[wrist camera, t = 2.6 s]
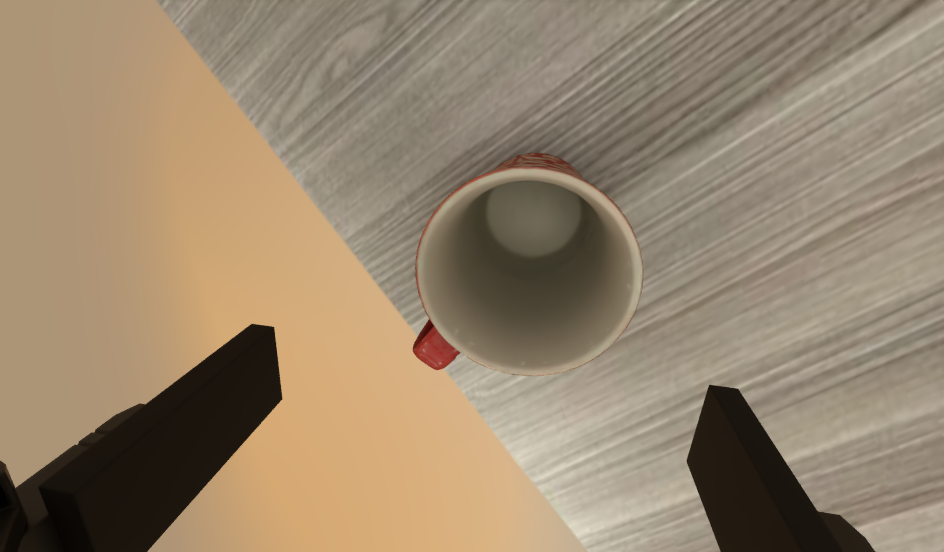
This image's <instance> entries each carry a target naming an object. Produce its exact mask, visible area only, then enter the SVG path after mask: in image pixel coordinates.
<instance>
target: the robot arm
mask: <svg viewBox="0 0 944 552" xmlns="http://www.w3.org/2000/svg"><path fill="white" fill-rule="evenodd" d="M281 400H282V392H281V384H280V375H279V366H278V357H277V348H276V341H275V331H274V327H270V326H264V325H256V324H251V325H250V326H248V327H247V328H246V329H244V330H243V331H242V332H240V333H239V334H238V335H236V336H235V337H234V338H232V339H231V340H230V341H229V342H227V343H226V344H225V345H223V346H222V347H221V348H219V349H218V350H217V351H215V352H214V353H213V354H211V355H210V356H209V357H207V358H206V359H205V360H203V361H202V362H201V363H200V364H198V365H197V366H196V367H194V368H193V369H192V370H190V371H189V372H188V373H186V374H185V375H184V376H182V377H181V378H180V379H178V380H177V381H176V382H174V383H173V384H172V385H171V386H169V387H168V388H167V389H165V390H164V391H163V392H161V393H160V394H159V395H157V396H156V397H155V398H153V399H152V400H151V401H149V402H148V403H147V404H138V405H136V406H133V407H131V408H129V409H127V410H125V411H123V412H121V413H119V414H116V415H115V416H113V417H112V418H111V419H109V420H108V421H106V422H105V423H104V424H102V425H101V426H100V427H98V428H97V429H96V430H95V432H94V433H90V434H89V435H87V436H86V437H85V438H83V439H82V440H80V441H79V444H78V445H74V446H72V447H71V448H70V449H68V450H67V451H65V452H64V453H63V454H61V455H60V456H59V457H57V458H56V459H55V460H54V461H52V462H51V463H49V464H48V465H46V466H45V467H44V468H42V469H41V470H40V471H38V472H37V473H35V474H34V475H33V476H31V477H30V478H29V479H27V480H26V481H24V482H23V483H22V484H20V485H19V486H18V487H16V488H15V486H14V484H13V481H12V479H11V477H10V474H9V472H8V469H7V467H6V464H4V463H3V462H1V461H0V552H147V551H148V550H149V549H150V548H151V547H152V545H153V544H154V543H155V542H156V541H157V540H158V539H159V538H160V536H161V535H162V534H163V533H164V532H165V531H166V530H167V528H168V527H169V526H170V525H171V524H172V523H173V522H174V521H175V519H176V518H177V517H178V516H179V515H180V514H181V513H182V511H183V510H184V509H185V508H186V507H187V506H188V505H189V504H190V503H191V501H192V500H193V499H194V498H195V497H196V496H197V495H198V494H199V492H200V491H201V490H202V489H203V488H204V487H205V486H206V484H207V483H208V482H209V481H210V480H211V479H212V478H213V477H214V475H215V474H216V473H217V472H218V471H219V470H220V469H221V468H222V466H223V465H224V464H225V463H226V462H227V461H228V460H229V458H230V457H231V456H232V455H233V454H234V453H235V452H236V451H237V450H238V448H239V447H240V446H241V445H242V444H243V443H244V442H245V441H246V439H247V438H248V437H249V436H250V435H251V433H252V432H253V431H254V430H255V429H256V428H257V427H258V426H259V425H260V424H261V422H262V421H263V420H264V419H265V418H266V417H267V416H268V415H269V413H270V412H271V411H272V410H273V409H274V408H275V407H276V406H277V404H278V403H279V402H280V401H281ZM687 464H688V466H689V469H690V472H691V474H692V477H693V480H694V482H695V485H696V487H697V490H698V493H699V495H700V498H701V501H702V503H703V506H704V509H705V511H706V514H707V517H708V519H709V522H710V524H711V527H712V530H713V532H714V535H715V538H716V540H717V543H718V546H719V548H720V551H721V552H875V551H874V549H873V548H872V547H871V545H870V544H869V542H868V541H867V540H866V538H865V537H864V536H863V535H861V534H860V533H859V532H858V531H857V530H856V529H855V528H854V527H852V526H851V525H850V524H849V523H848V522H847V521H846V520H845V519H843V518H842V517H841V516H840V515H836V514H830V513H824V512H818V511H817V510H816V508H815V507H814V505H813V504H812V502H811V501H810V499H809V497H808V496H807V494H806V493H805V491H804V490H803V488H802V487H801V485H800V484H799V482H798V480H797V479H796V477H795V476H794V474H793V473H792V471H791V470H790V468H789V467H788V465H787V464H786V462H785V460H784V459H783V457H782V456H781V454H780V453H779V451H778V450H777V448H776V447H775V445H774V444H773V442H772V440H771V439H770V437H769V436H768V434H767V433H766V431H765V430H764V428H763V427H762V425H761V423H760V422H759V420H758V419H757V417H756V416H755V414H754V413H753V411H752V410H751V408H750V407H749V405H748V403H747V402H746V400H745V399H744V397H743V396H742V394H741V393H740V391H739V390H738V389H736V388H729V387H721V386H714V385H709V387H708V390H707V394H706V397H705V401H704V404H703V407H702V411H701V414H700V417H699V421H698V424H697V427H696V431H695V434H694V438H693V441H692V444H691V448H690V451H689V454H688V458H687Z"/></svg>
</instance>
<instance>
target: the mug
mask: <svg viewBox="0 0 944 552" xmlns="http://www.w3.org/2000/svg"><path fill="white" fill-rule="evenodd" d="M415 269H416V281H417V288H418V293H419V296H420V299H421V302H422V305H423V307H424V309H425V312H426V313H427V315H428V317H429V320H428V322H427V323H426V325H425V326H424V328H423V329H422V331H421V332H420V334H419V336H418V337H417V339H416V341H415V343H414V346H413V352H414V354H415V355H416V357H417V358H418V359H420V360H421V361H422V362H424V363H425V364H427V365H428V366H430V367H431V368H433V369H435V370H440V369H443V368H445V367H446V366H447V365H449V364H450V363H451V362H452V361H453V360H454V359H455V358H456V356H457V355H458V354H459V353H462V354H463V355H465V356H466V357H468V358H469V359H471V360H473V361H475V362H477V363H479V364H481V365H483V366H485V367H488V368H490V369H493V370H497V371H500V372H503V373H508V374H512V375H522V376H543V375H551V374H557V373H561V372H565V371H568V370H571V369H574V368H576V367H579V366H581V365H583V364H585V363H587V362H589V361H591V360H593V359H595V358H596V357H598V356H599V355H600V354H602V353H603V352H604V351H605V350H607V349H608V348H609V347H610V346H611V345H612V344H613V343H614V342H615V341H616V340H617V339H618V338H619V337H620V336H621V334H622V333H623V332H624V330H625V329H626V327H627V326H628V324H629V323H630V321H631V319H632V317H633V315H634V313H635V311H636V309H637V306H638V303H639V299H640V296H641V293H642V287H643V262H642V256H641V251H640V248H639V244H638V241H637V239H636V236H635V233H634V231H633V229H632V227H631V225H630V224H629V222H628V220H627V219H626V217H625V216H624V214H623V213H622V212H621V210H620V209H619V207H618V206H617V205H616V204H615V203H614V202H613V201H612V200H611V199H610V198H609V197H608V196H606V195H605V194H604V193H603V192H601V191H600V190H599V189H597V188H596V187H595V186H593V185H591V184H590V183H588V182H586V181H585V180H584V179H583V177H582V176H581V175H580V174H579V173H578V172H577V171H576V170H575V169H574V168H573V167H571V166H570V165H569V164H568V163H567V162H565V161H563V160H562V159H560V158H557V157H555V156H552V155H548V154H543V153H528V154H523V155H518V156H516V157H514V158H511V159H509V160H507V161H506V162H504V163H502V164H501V165H500V166H499V167H497V168H496V169H495V170H493V171H492V172H489V173H486V174H483V175H481V176H478V177H476V178H474V179H472V180H470V181H468V182H467V183H465V184H463V185H462V186H460V187H459V188H458V189H456V190H455V191H454V192H453V193H451V194H450V195H449V196H448V197H447V198H446V199H445V200H444V201H443V202H442V203H441V204H440V205H439V207H438V208H437V209H436V210H435V212H434V213H433V215H432V216H431V218H430V219H429V221H428V223H427V225H426V227H425V229H424V231H423V233H422V236H421V238H420V242H419V246H418V250H417V256H416V266H415Z"/></svg>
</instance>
